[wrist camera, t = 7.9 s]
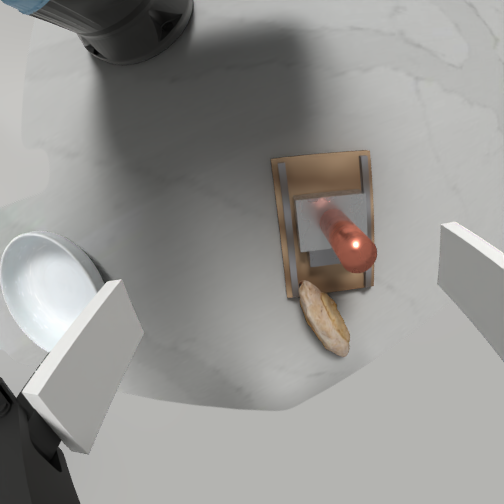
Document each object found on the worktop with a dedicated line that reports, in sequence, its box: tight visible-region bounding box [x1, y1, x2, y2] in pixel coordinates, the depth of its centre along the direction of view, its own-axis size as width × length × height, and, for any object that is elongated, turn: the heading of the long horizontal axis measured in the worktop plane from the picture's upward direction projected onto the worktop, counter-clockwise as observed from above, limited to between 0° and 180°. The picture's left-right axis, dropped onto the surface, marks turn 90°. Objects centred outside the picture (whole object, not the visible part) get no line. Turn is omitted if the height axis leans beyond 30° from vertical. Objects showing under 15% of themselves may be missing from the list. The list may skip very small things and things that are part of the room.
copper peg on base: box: [293, 189, 377, 273], centre depth 31 cm, size 8×8×13 cm
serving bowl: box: [0, 231, 104, 353], centre depth 40 cm, size 21×21×7 cm
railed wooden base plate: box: [271, 150, 374, 298], centre depth 38 cm, size 18×12×2 cm, turn 8°
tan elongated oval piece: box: [298, 280, 350, 357], centre depth 40 cm, size 5×14×4 cm
